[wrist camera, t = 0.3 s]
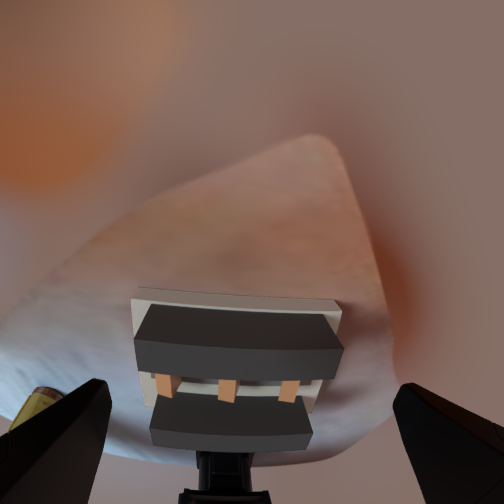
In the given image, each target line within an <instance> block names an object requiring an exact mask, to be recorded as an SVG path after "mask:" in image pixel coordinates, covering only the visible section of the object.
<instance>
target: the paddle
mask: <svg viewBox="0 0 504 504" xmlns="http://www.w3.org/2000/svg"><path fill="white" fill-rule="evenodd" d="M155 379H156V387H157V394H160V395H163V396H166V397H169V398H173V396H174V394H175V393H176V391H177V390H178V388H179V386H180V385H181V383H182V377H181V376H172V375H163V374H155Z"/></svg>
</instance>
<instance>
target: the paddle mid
mask: <svg viewBox="0 0 504 504" xmlns="http://www.w3.org/2000/svg"><path fill="white" fill-rule="evenodd" d="M239 386H240V380H219V385H218V400H222V401H227V402H231V403H234V401H235V398H236V395H237V392H238V389H239Z"/></svg>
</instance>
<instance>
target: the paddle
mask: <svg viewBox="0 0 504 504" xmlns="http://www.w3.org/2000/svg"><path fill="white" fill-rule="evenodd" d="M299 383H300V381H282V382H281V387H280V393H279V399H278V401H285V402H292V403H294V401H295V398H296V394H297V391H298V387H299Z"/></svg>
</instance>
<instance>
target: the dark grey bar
mask: <svg viewBox="0 0 504 504" xmlns="http://www.w3.org/2000/svg"><path fill="white" fill-rule="evenodd" d="M278 399H279V396H236V398H235V401H234V403H231V402H227V401H222V400H218V395H212V394H198V393H187V392H177V391H176V393H175V394H174V396H173V398H169V397H166V396H163V395H160V394H157V398H156V402H155V406H154V411H153V415H152V419H151V423H150V427H149V429H150V433H151V437H152V441H153V445H155V446H162V447H169V448H177V449H186V450H197V451H212V452H281V451H295V450H306V449H307V446H308V444H309V442H310V439H311V437H312V435H313V431H312V428H311V424H310V421H309V418H308V415H307V411H306V408H305V405H304V402H303V399H302V395H297V396H296V398H295V401H294V403H292V402H285V401H278Z"/></svg>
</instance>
